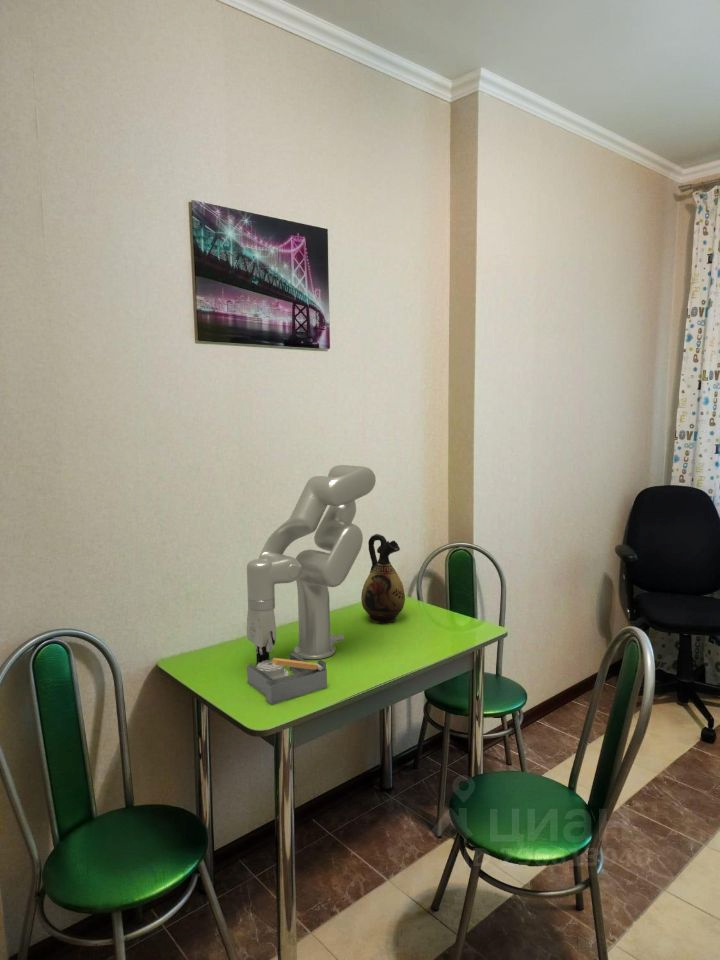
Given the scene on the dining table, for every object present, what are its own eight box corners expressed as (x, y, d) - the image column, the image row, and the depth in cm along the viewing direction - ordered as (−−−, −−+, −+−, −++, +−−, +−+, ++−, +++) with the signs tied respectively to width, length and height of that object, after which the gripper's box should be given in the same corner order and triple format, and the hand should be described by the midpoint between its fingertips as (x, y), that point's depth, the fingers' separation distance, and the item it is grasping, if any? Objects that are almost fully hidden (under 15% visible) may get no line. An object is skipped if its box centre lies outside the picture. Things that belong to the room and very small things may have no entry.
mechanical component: (293, 682, 175) (282, 669, 184) (293, 666, 175) (281, 654, 183) (258, 689, 171) (248, 676, 180) (257, 673, 170) (247, 660, 179)
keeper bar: (316, 667, 172) (317, 662, 172) (322, 670, 170) (323, 666, 170) (271, 661, 164) (272, 657, 164) (276, 665, 161) (278, 660, 161)
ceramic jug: (413, 617, 227) (413, 534, 224) (388, 629, 215) (387, 542, 211) (375, 609, 237) (374, 529, 234) (349, 620, 225) (347, 536, 222)
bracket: (296, 668, 184) (296, 645, 183) (327, 687, 171) (326, 663, 170) (243, 683, 174) (242, 659, 173) (271, 705, 161) (270, 679, 161)
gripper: (238, 599, 184) (240, 661, 186) (261, 612, 172) (262, 678, 174) (261, 595, 188) (263, 655, 190) (285, 607, 176) (287, 672, 178)
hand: (263, 666), depth 182 cm, fingers closed
